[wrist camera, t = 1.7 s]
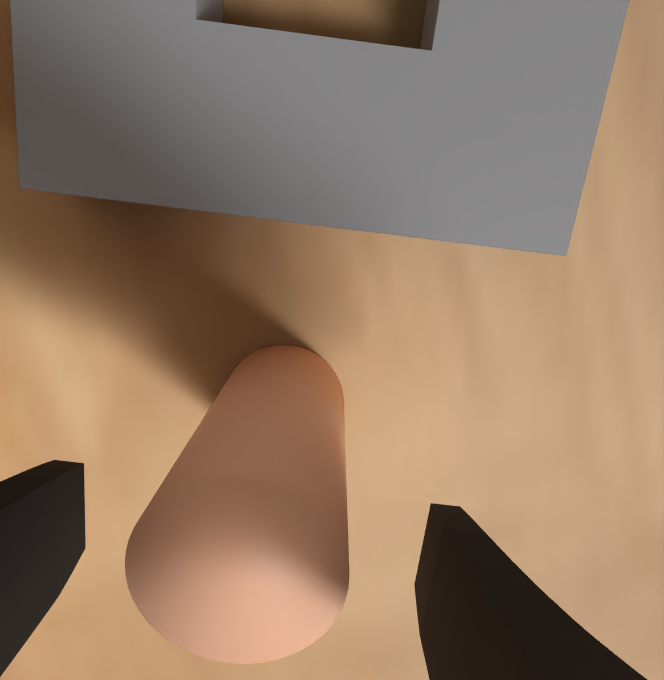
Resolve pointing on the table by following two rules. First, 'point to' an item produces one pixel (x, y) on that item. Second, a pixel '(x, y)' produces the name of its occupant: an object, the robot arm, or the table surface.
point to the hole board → (321, 115)
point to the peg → (251, 517)
